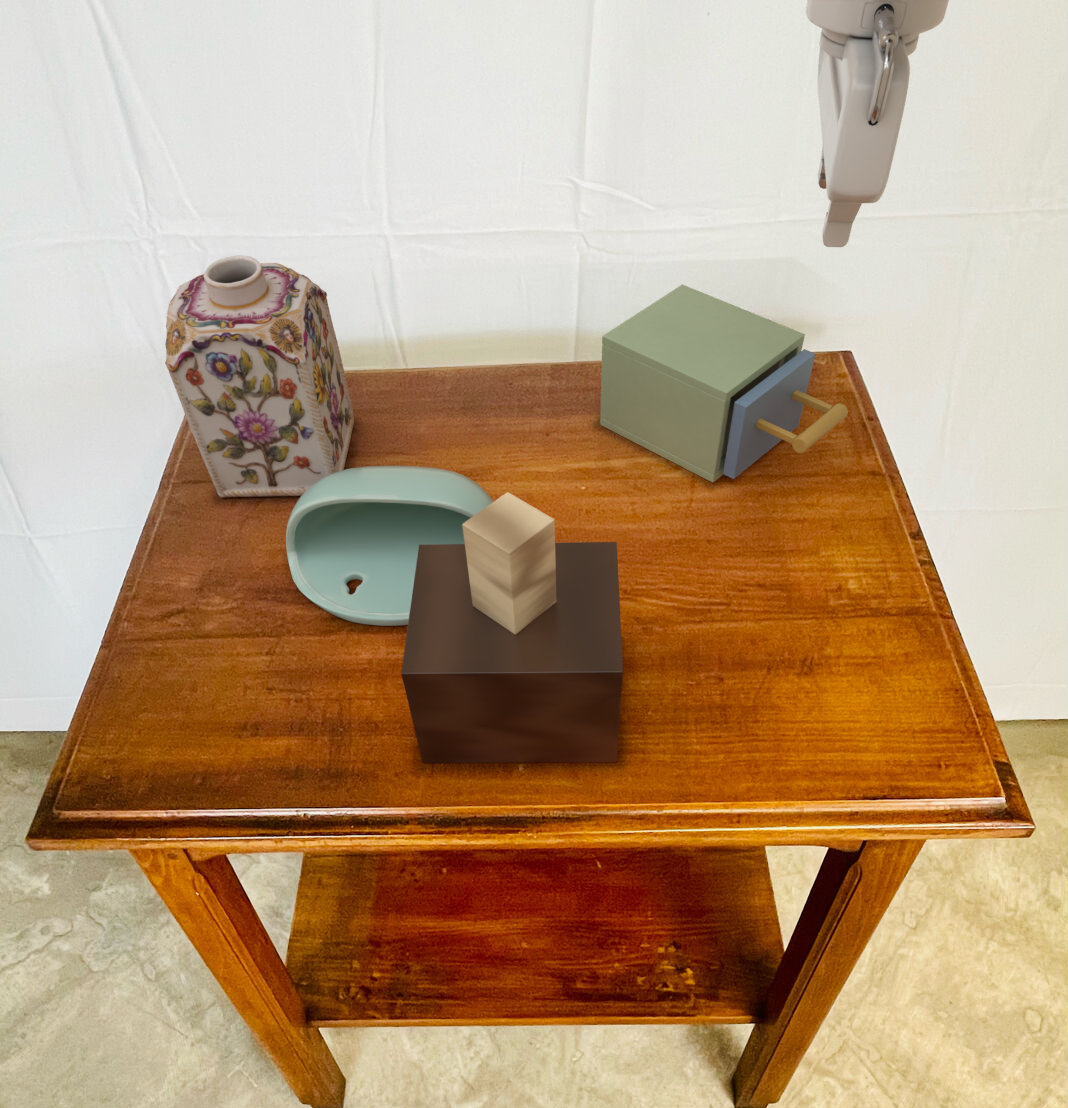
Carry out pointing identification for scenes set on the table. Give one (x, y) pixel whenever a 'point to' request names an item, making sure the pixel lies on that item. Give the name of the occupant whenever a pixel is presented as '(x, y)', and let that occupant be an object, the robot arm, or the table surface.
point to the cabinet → (686, 374)
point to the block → (511, 561)
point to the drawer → (774, 414)
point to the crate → (516, 665)
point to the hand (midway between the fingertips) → (830, 212)
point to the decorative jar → (259, 377)
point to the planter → (375, 536)
